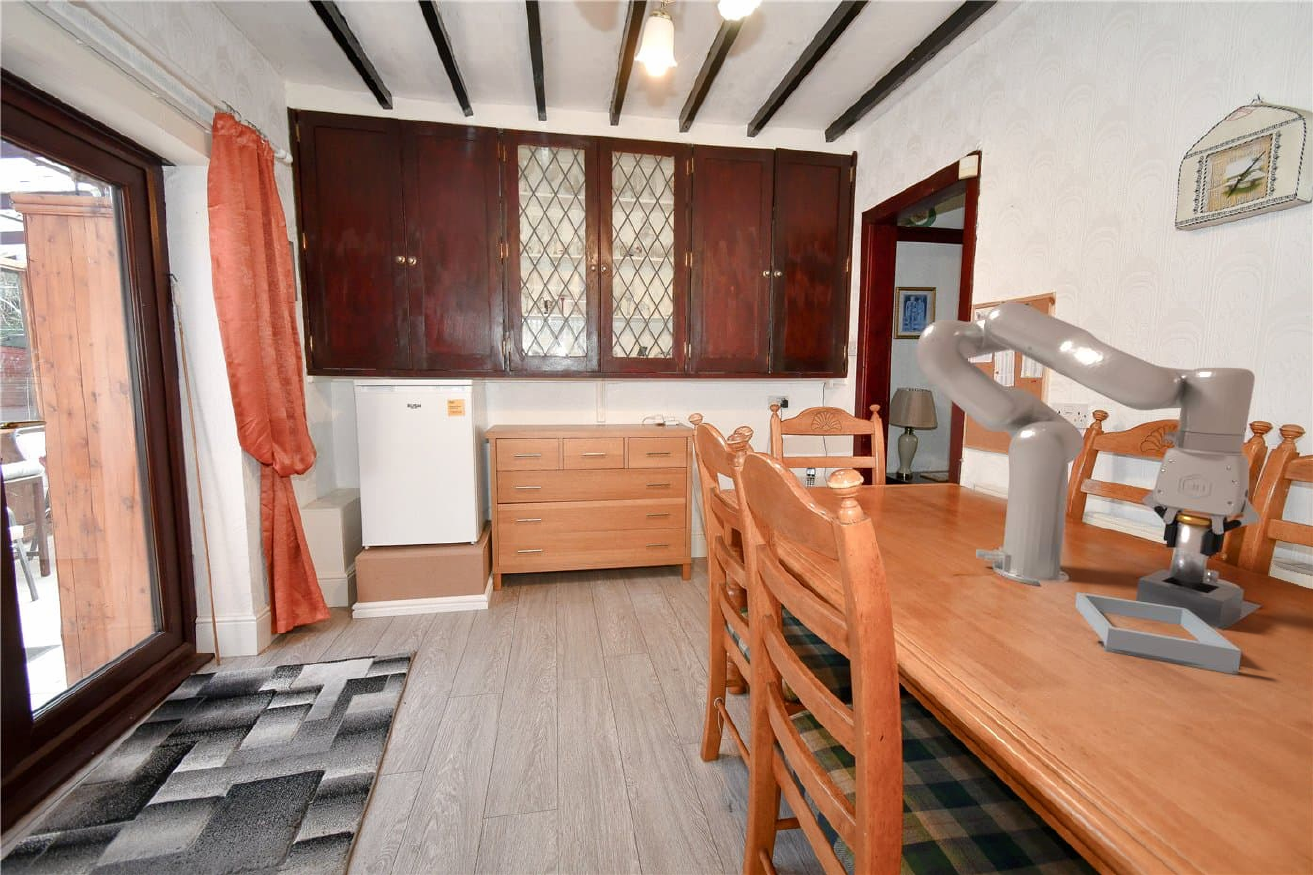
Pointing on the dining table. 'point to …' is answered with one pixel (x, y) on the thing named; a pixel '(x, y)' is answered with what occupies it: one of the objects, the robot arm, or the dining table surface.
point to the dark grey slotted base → (1197, 597)
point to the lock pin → (1190, 547)
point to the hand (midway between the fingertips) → (1190, 549)
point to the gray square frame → (1200, 654)
